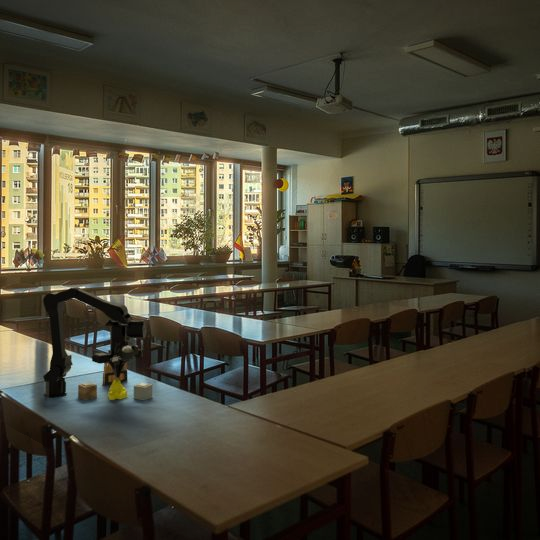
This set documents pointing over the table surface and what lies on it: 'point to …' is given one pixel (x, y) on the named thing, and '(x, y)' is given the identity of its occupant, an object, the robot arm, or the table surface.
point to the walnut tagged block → (87, 391)
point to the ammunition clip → (110, 376)
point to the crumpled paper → (117, 390)
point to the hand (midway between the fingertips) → (117, 377)
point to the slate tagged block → (142, 391)
